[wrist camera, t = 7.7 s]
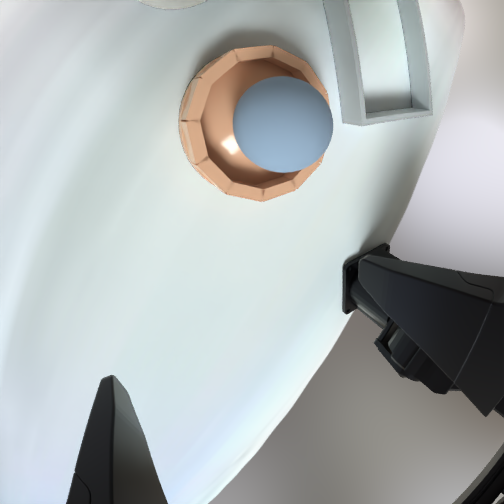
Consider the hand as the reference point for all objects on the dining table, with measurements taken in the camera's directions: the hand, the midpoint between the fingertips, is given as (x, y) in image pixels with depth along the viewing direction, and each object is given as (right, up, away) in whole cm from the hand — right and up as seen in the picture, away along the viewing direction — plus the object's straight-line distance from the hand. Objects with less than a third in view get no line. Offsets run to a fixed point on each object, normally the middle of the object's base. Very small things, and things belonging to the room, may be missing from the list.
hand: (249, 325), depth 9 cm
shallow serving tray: (+11, +21, +10) cm, 25 cm away
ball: (0, +10, +9) cm, 14 cm away
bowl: (0, +11, +10) cm, 14 cm away
